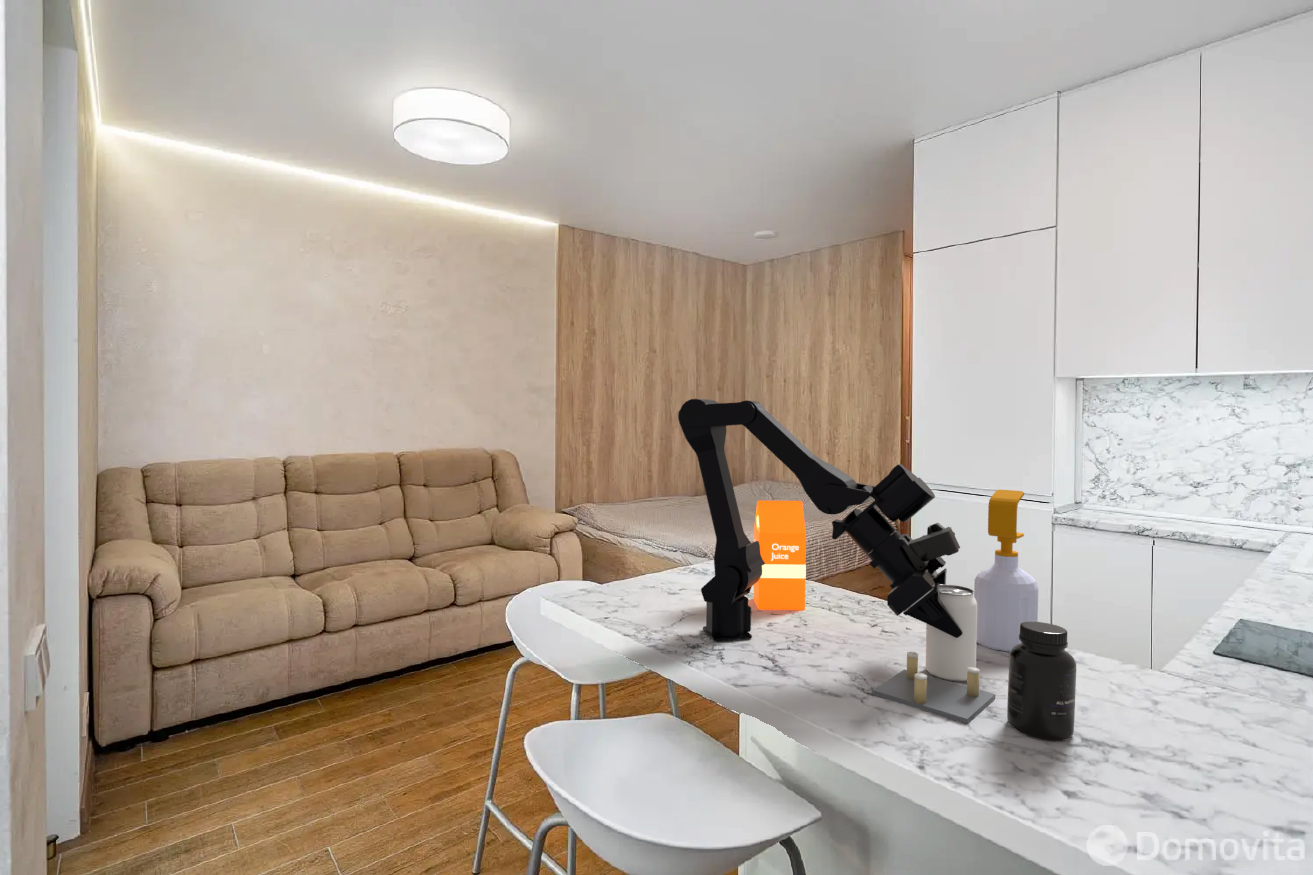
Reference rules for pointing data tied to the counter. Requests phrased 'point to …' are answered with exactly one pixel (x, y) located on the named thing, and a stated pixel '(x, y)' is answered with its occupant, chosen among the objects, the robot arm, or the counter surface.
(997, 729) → the counter surface
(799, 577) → the orange juice
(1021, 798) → the counter surface
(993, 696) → the peg board
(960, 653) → the can
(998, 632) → the soap bottle
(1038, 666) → the supplement bottle
